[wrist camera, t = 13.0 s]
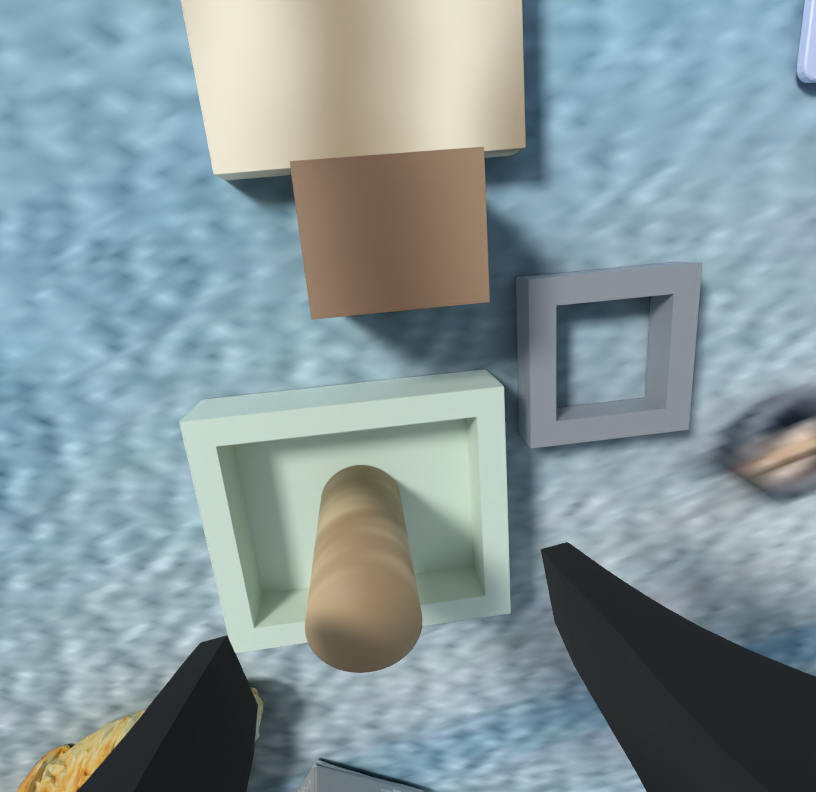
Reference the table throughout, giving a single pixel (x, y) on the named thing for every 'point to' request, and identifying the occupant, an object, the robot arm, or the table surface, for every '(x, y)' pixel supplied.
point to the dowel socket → (666, 356)
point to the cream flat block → (354, 79)
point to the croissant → (87, 756)
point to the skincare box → (346, 781)
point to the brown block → (393, 231)
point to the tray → (322, 458)
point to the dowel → (362, 575)
